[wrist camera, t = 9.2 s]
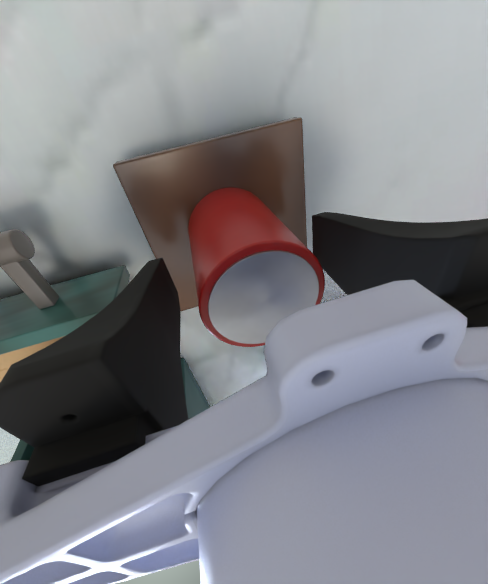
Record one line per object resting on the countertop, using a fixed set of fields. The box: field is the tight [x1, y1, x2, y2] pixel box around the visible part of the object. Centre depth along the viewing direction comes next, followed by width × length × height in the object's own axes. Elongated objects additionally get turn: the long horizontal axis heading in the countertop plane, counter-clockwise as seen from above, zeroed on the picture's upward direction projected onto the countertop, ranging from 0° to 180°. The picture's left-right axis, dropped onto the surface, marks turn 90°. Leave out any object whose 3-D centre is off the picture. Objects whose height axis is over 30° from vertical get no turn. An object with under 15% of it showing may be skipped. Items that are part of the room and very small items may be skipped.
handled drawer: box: [0, 229, 130, 382], centre depth 16 cm, size 13×16×4 cm
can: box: [188, 187, 325, 347], centre depth 12 cm, size 5×5×7 cm
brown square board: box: [113, 117, 307, 311], centre depth 15 cm, size 9×9×2 cm
